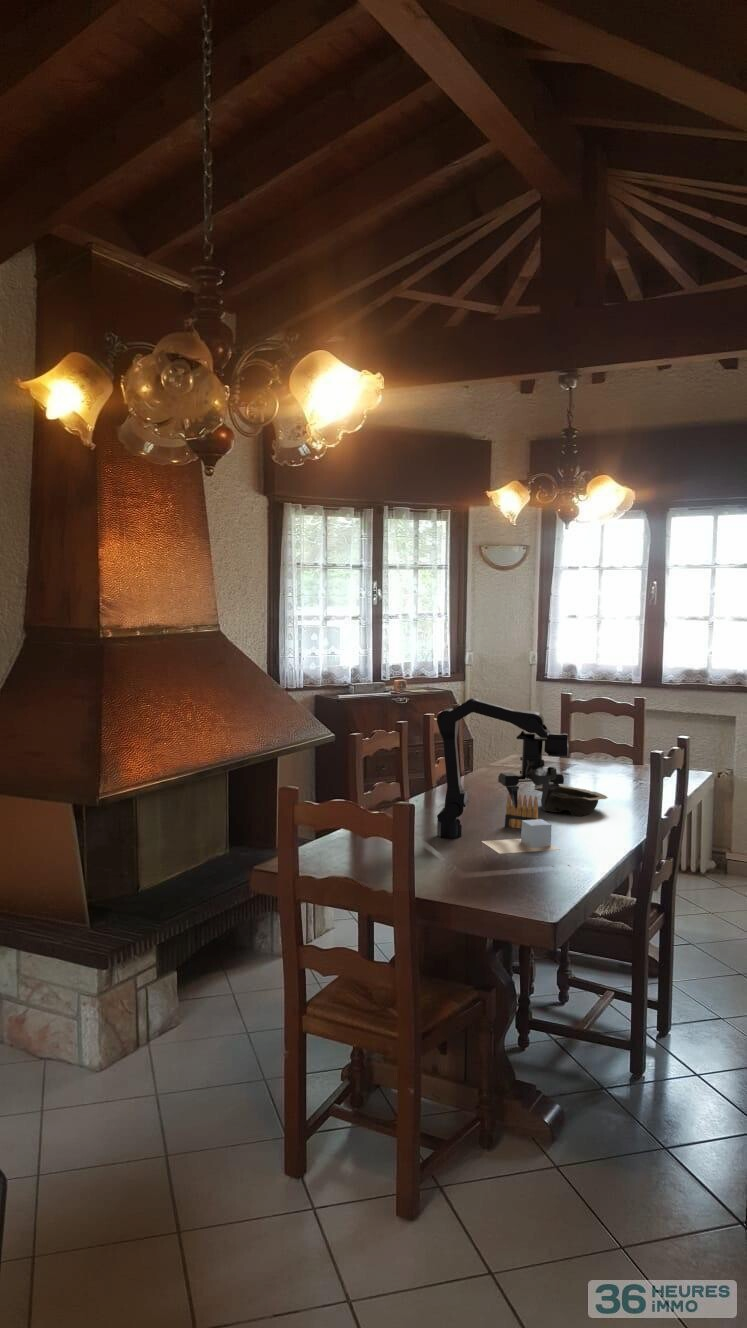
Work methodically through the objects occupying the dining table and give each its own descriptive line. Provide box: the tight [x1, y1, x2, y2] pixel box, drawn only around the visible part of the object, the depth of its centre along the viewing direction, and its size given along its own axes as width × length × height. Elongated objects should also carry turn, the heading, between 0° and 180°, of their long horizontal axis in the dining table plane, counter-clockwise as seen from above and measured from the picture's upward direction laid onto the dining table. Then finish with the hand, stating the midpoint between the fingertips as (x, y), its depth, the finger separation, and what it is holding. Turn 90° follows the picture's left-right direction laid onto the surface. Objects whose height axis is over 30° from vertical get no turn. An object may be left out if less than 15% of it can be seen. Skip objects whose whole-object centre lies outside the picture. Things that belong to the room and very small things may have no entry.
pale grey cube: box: [520, 818, 552, 848], centre depth 264 cm, size 6×6×6 cm
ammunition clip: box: [504, 792, 539, 829], centre depth 283 cm, size 11×2×12 cm, turn 60°
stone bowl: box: [533, 784, 609, 817], centre depth 312 cm, size 25×25×9 cm
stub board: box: [481, 838, 561, 855], centre depth 263 cm, size 19×13×5 cm
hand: (530, 807), depth 265 cm, fingers open, 9 cm apart
